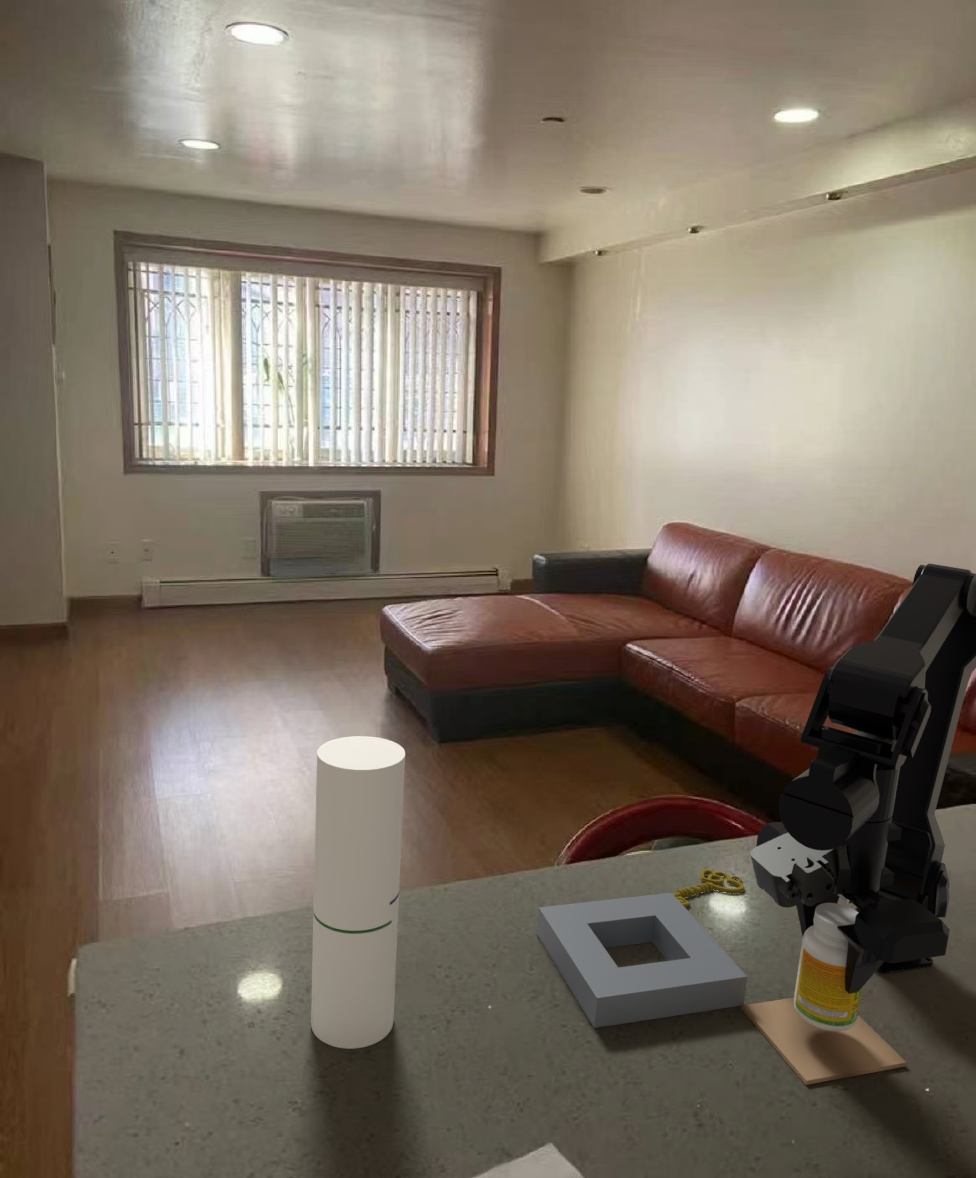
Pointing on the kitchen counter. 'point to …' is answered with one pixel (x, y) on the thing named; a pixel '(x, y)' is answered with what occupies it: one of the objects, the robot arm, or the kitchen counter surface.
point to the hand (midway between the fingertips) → (831, 971)
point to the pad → (821, 1044)
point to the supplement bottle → (826, 971)
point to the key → (709, 885)
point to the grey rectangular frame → (640, 991)
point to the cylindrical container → (356, 889)
